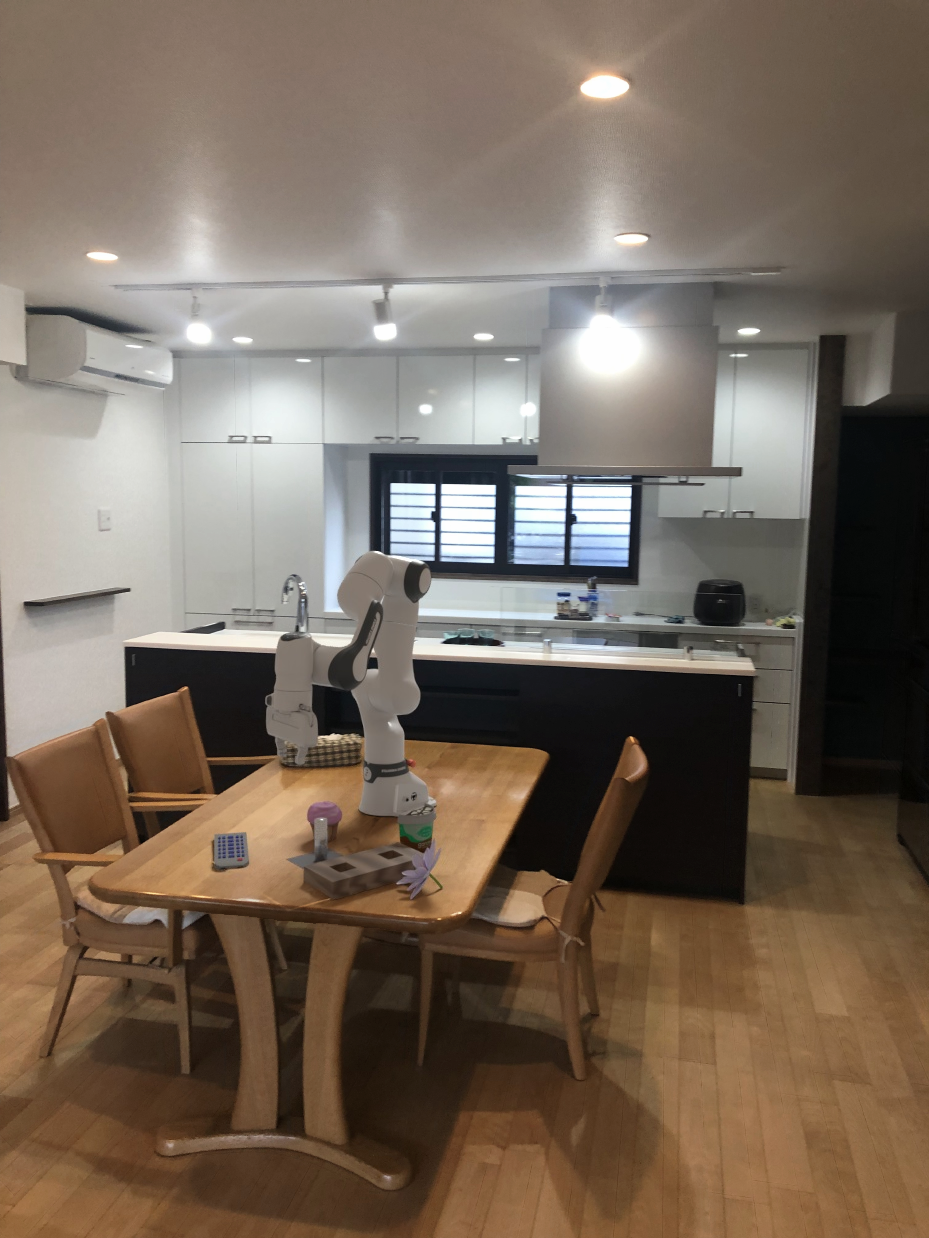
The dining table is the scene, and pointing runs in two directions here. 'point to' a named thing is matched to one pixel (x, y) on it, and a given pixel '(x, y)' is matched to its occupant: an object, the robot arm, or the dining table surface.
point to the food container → (417, 828)
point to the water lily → (421, 870)
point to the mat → (311, 858)
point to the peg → (320, 839)
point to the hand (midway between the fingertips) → (290, 760)
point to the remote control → (230, 850)
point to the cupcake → (325, 811)
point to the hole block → (360, 870)
